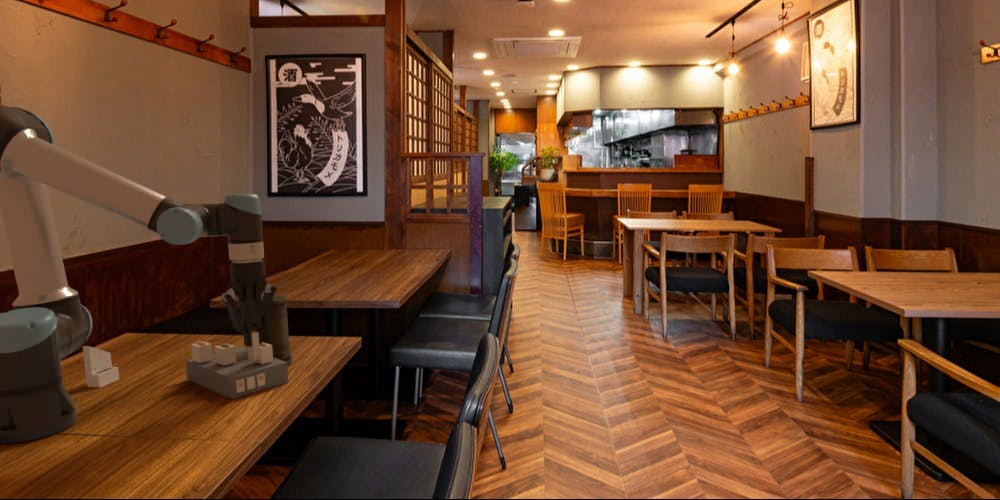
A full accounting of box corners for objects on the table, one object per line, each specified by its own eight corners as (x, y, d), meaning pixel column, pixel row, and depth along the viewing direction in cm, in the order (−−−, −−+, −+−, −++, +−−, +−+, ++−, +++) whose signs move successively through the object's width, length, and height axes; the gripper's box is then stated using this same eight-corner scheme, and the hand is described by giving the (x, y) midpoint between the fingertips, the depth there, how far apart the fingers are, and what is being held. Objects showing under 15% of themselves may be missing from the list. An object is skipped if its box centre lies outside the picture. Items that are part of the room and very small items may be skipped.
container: (297, 359, 164) (294, 294, 162) (283, 369, 156) (278, 301, 153) (266, 358, 165) (262, 294, 163) (249, 369, 156) (245, 301, 154)
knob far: (200, 363, 144) (198, 344, 144) (192, 360, 147) (190, 342, 146) (212, 360, 147) (211, 342, 146) (204, 357, 149) (203, 339, 149)
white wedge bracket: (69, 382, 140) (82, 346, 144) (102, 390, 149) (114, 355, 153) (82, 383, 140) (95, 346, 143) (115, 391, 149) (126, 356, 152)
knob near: (261, 364, 143) (260, 346, 142) (252, 361, 145) (251, 343, 145) (273, 361, 145) (272, 343, 145) (264, 358, 148) (263, 340, 147)
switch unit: (233, 399, 135) (231, 378, 134) (187, 379, 149) (185, 359, 148) (289, 382, 146) (288, 362, 145) (241, 365, 160) (240, 346, 159)
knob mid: (223, 365, 142) (222, 347, 142) (215, 362, 145) (214, 344, 144) (236, 362, 145) (234, 344, 144) (227, 359, 147) (226, 341, 147)
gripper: (227, 265, 133) (235, 368, 136) (281, 258, 143) (287, 354, 146) (211, 262, 138) (219, 362, 141) (264, 255, 148) (270, 349, 151)
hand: (254, 358), depth 143 cm, fingers closed
